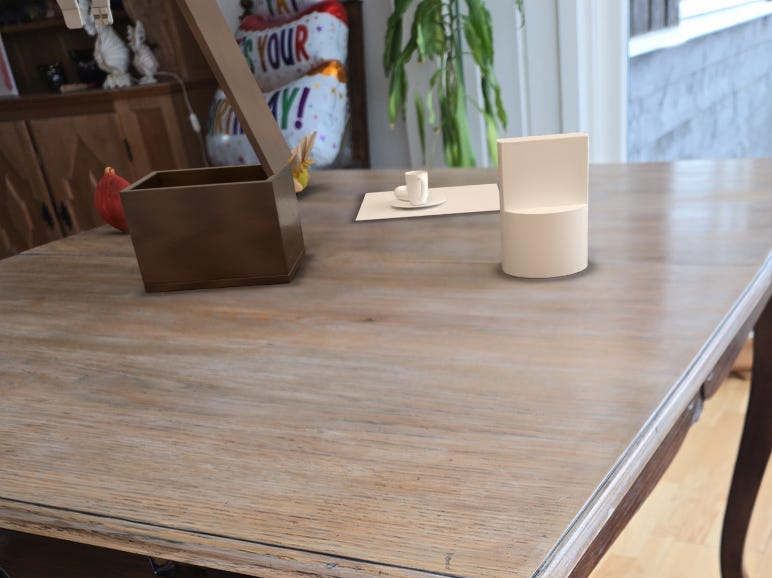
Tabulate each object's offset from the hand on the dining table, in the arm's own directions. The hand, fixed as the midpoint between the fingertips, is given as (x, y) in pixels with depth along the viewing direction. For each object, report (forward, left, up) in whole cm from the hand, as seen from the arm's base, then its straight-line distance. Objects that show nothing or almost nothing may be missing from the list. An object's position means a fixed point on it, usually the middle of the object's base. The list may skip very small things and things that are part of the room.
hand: (91, 26), depth 104 cm
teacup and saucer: (+37, +13, -23) cm, 46 cm away
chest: (+15, -21, -23) cm, 35 cm away
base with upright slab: (+50, -28, -23) cm, 62 cm away
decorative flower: (+14, +28, -23) cm, 39 cm away
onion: (-5, +6, -23) cm, 25 cm away
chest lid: (+20, -21, -5) cm, 30 cm away
